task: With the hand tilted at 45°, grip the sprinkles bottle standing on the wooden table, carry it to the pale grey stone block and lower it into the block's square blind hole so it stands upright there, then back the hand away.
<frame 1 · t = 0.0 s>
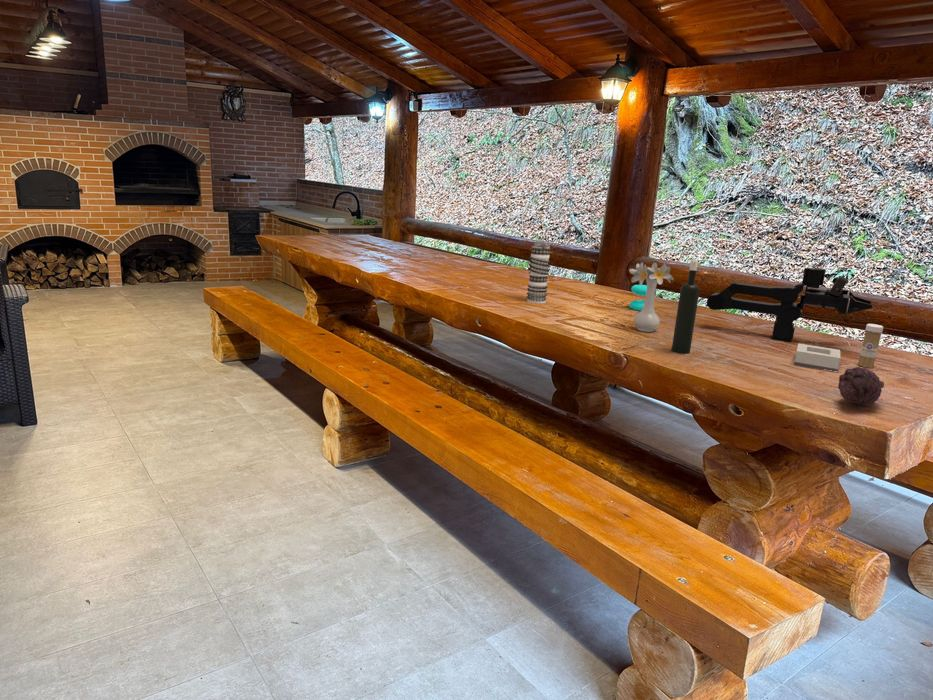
hand: (871, 304, 219), 17 cm above the table, tool horizontal, fingers open, 9 cm apart
sprinkles bottle: (865, 366, 205), on the table
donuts: (640, 309, 276), on the table
socket block: (815, 364, 204), on the table
wine bottle: (680, 351, 210), on the table
flower vase: (643, 330, 237), on the table
decorative candle: (536, 301, 279), on the table
pine cone: (854, 405, 166), on the table
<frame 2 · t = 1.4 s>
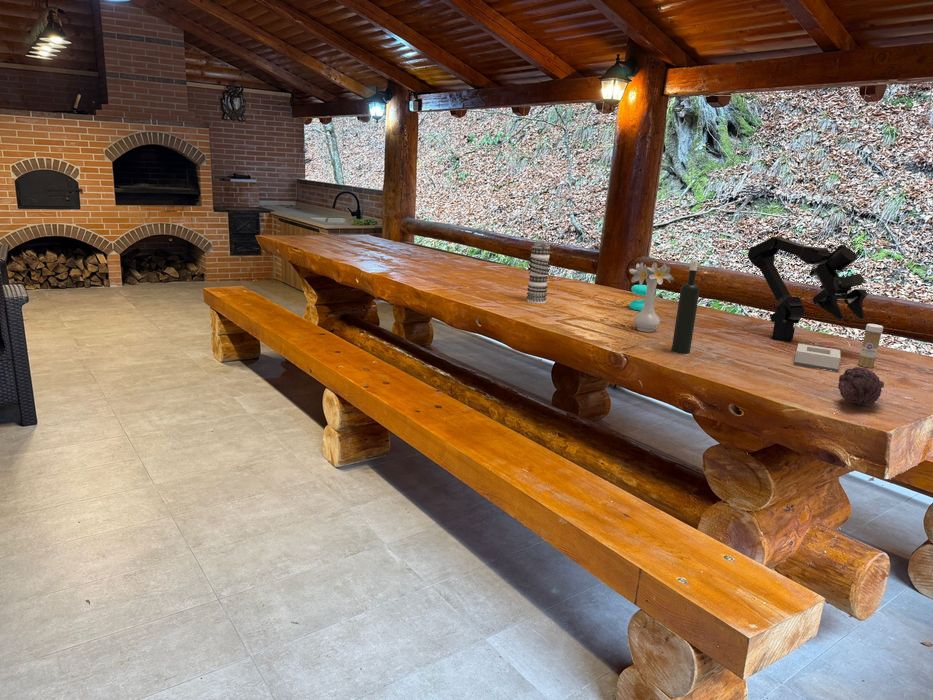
hand: (852, 318, 209), 14 cm above the table, tool tilted 45°, fingers open, 9 cm apart
nothing on the table moved.
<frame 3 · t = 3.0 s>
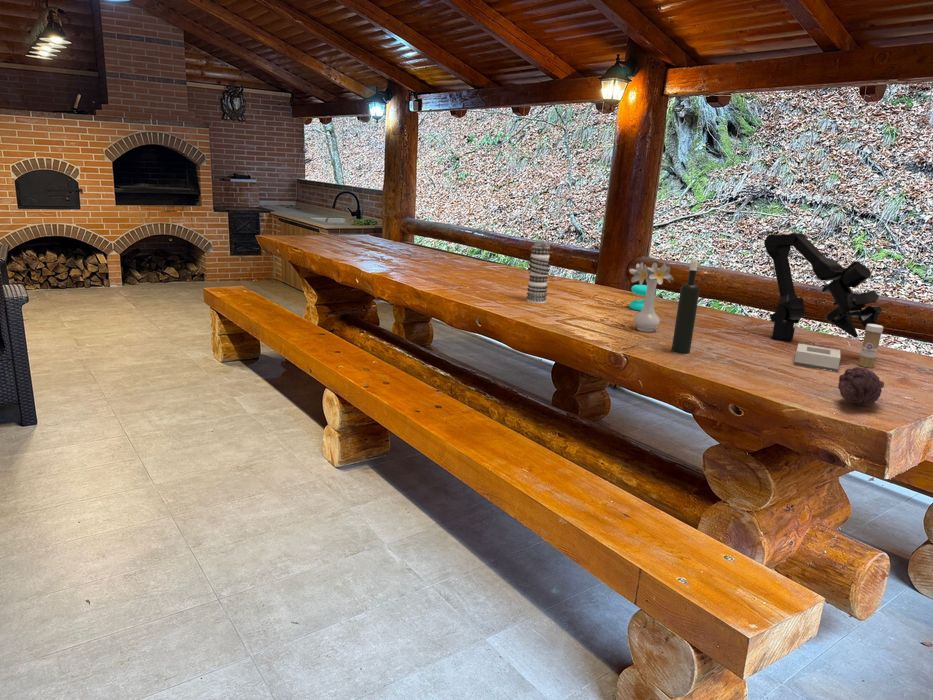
hand: (866, 336, 204), 9 cm above the table, tool tilted 45°, fingers open, 9 cm apart
nothing on the table moved.
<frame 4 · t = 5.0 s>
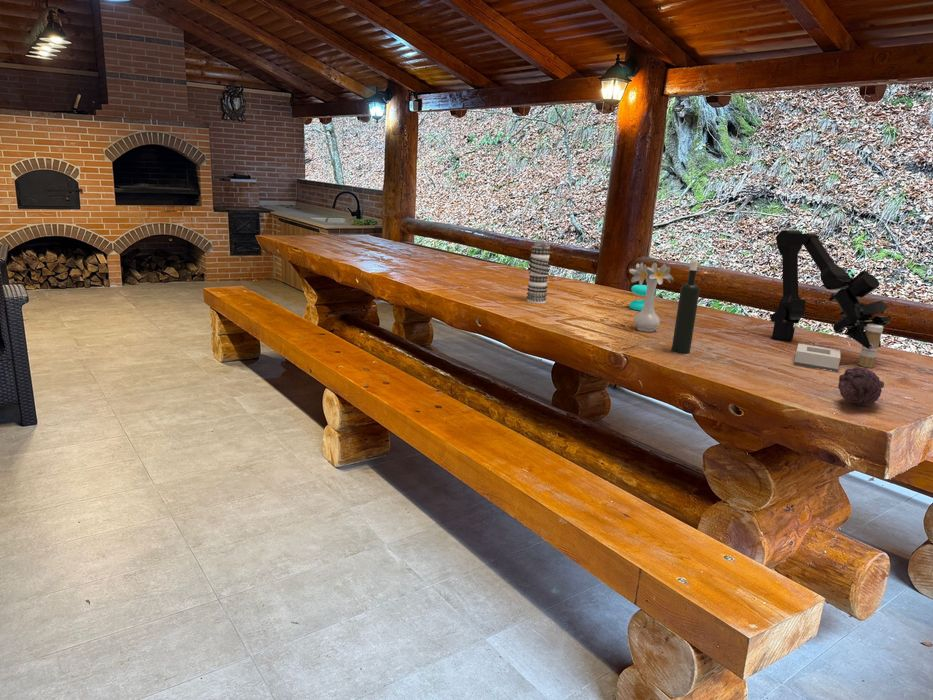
hand: (874, 347, 202), 7 cm above the table, tool tilted 45°, fingers closed on sprinkles bottle, 4 cm apart
sprinkles bottle: (865, 366, 205), on the table, touching gripper
everything else where it was.
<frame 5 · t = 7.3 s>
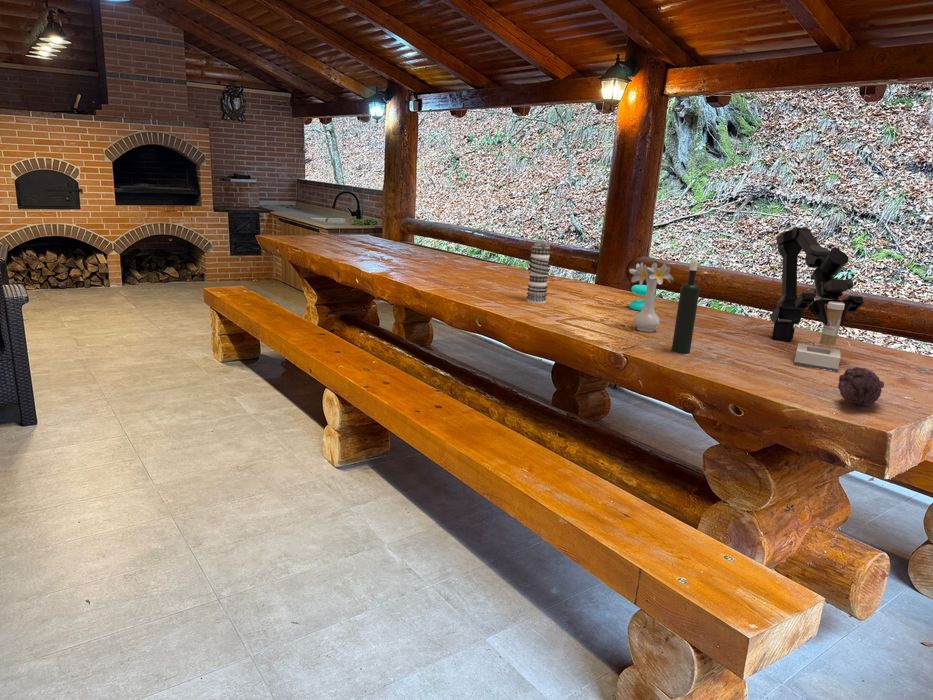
hand: (833, 325, 199), 13 cm above the table, tool tilted 45°, fingers closed on sprinkles bottle, 4 cm apart
sprinkles bottle: (827, 345, 202), point 6 cm above the table, touching gripper
everything else where it was.
when the fingers open (9 cm above the table, at t = 9.9 s): sprinkles bottle drops 1 cm, resting on socket block.
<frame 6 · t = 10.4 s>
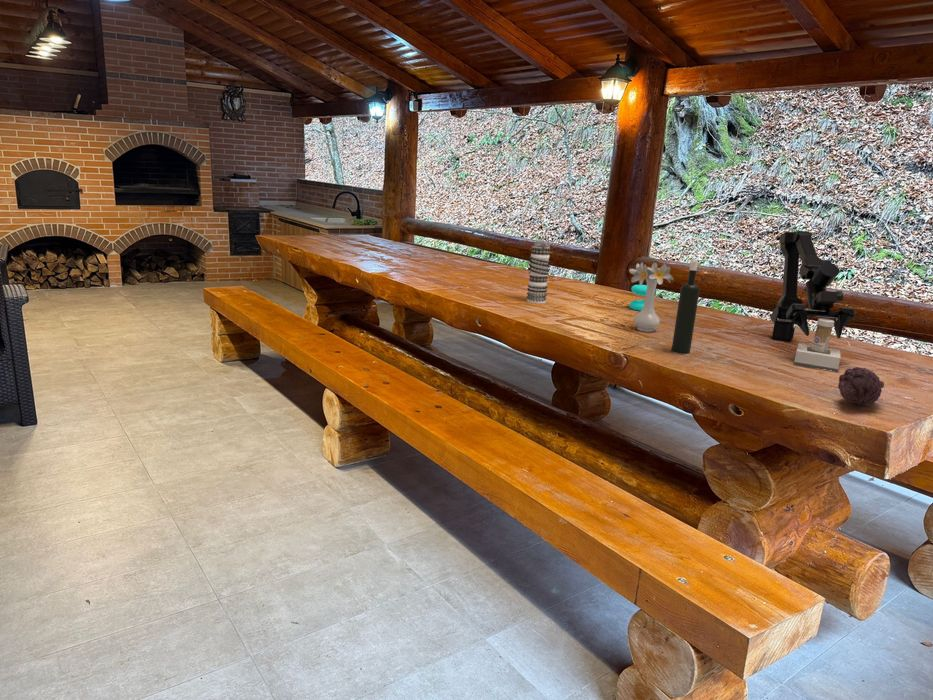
hand: (823, 336, 200), 9 cm above the table, tool tilted 45°, fingers open, 9 cm apart
sprinkles bottle: (816, 361, 204), point 1 cm above the table, touching socket block
everything else where it was.
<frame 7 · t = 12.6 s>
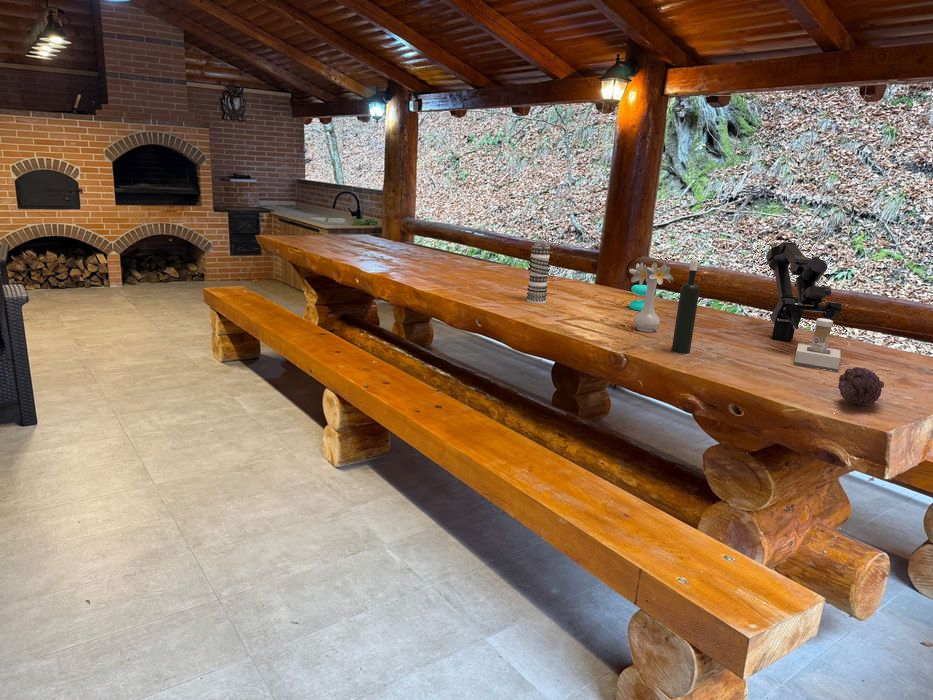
hand: (812, 329, 209), 9 cm above the table, tool tilted 45°, fingers open, 9 cm apart
nothing on the table moved.
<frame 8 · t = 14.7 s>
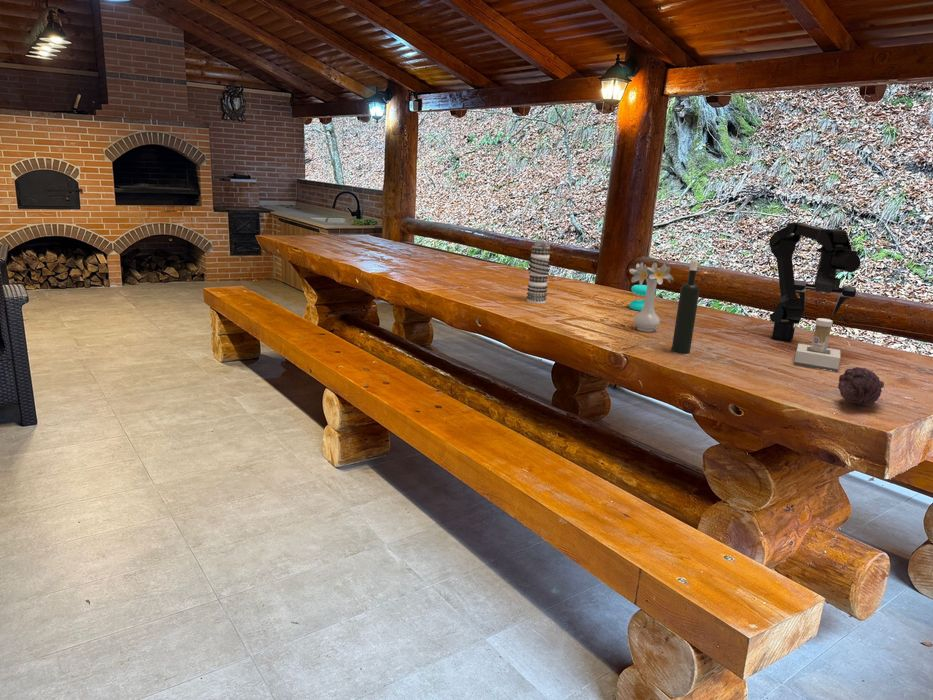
hand: (818, 313, 217), 13 cm above the table, tool pointing down, fingers open, 9 cm apart
nothing on the table moved.
at the end: sprinkles bottle 0.3 cm off-centre on the socket block, point 0.8 cm above the socket block's base; sprinkles bottle tilted 0°; the gripper is holding nothing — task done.
